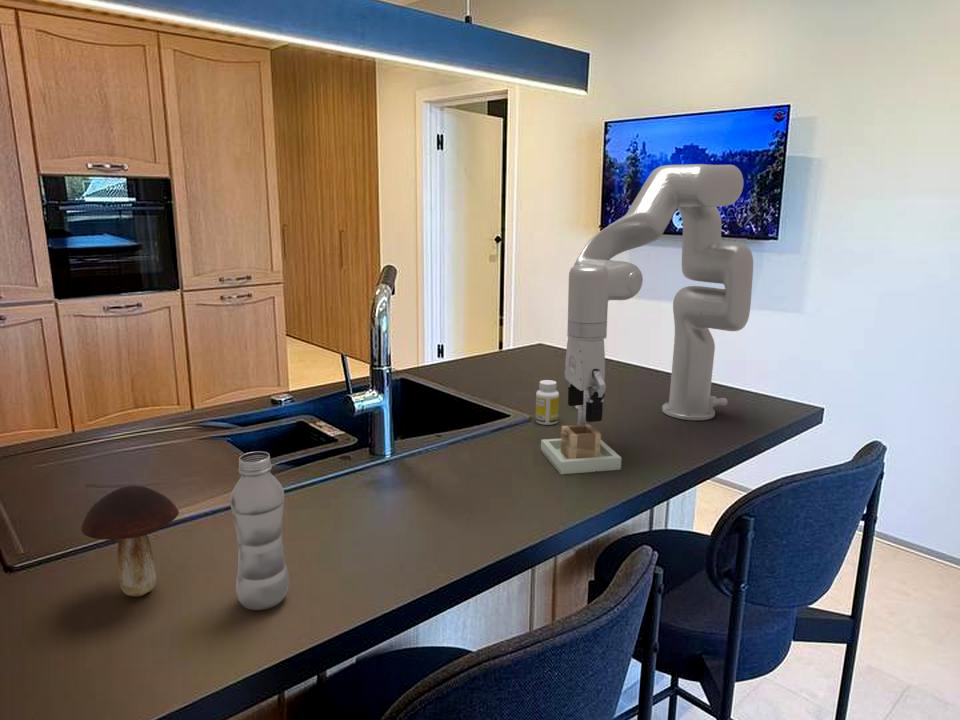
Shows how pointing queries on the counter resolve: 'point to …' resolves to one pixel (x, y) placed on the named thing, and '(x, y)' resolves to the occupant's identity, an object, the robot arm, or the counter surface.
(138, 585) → the decorative mushroom
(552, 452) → the tray
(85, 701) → the counter surface
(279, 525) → the plastic bottle
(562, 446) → the ring
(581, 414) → the post
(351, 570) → the counter surface
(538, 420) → the supplement bottle
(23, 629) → the counter surface
